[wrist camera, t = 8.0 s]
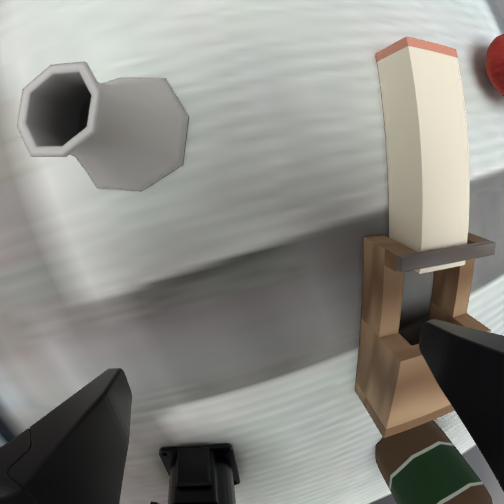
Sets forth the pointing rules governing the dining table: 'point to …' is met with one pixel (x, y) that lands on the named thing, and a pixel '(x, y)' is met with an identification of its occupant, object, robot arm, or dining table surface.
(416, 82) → the pink-topped cream pillar
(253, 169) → the dining table surface
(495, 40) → the onion
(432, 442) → the beer bottle
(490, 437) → the robot arm
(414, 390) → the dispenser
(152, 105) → the flask
